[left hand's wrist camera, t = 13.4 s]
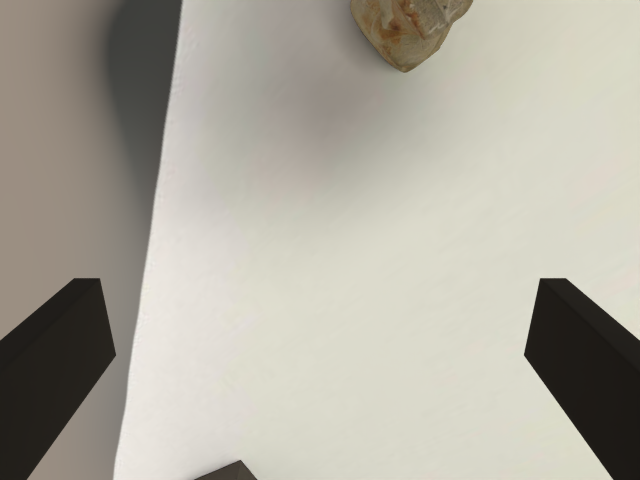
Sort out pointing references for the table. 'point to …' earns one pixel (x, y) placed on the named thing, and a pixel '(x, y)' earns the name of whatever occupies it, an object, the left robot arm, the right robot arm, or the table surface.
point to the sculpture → (407, 27)
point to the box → (230, 473)
